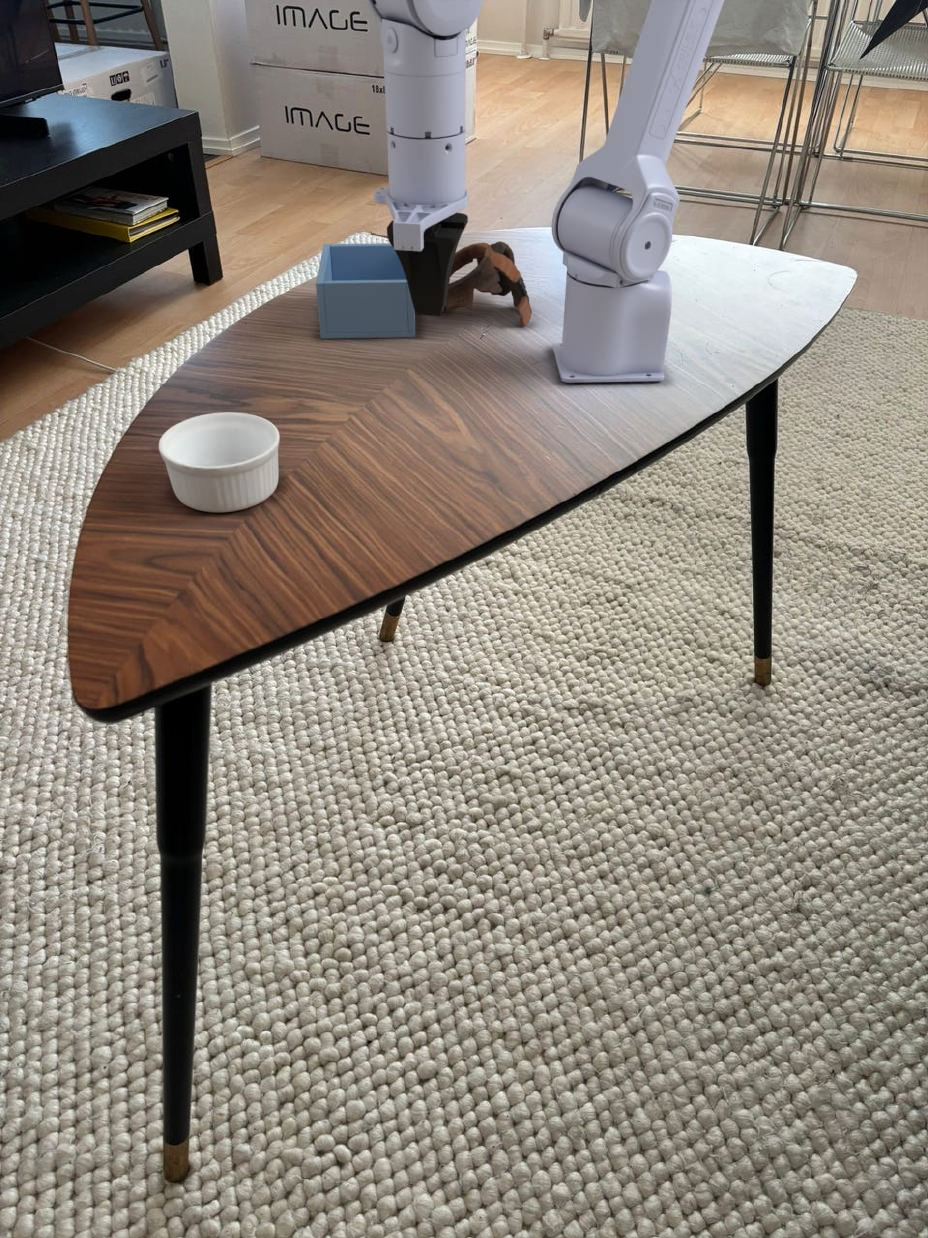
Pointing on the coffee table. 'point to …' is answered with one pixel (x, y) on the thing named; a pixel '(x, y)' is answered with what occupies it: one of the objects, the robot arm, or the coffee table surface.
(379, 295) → the bin
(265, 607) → the coffee table surface
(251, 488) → the ramekin
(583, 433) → the coffee table surface
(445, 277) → the robot arm
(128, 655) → the coffee table surface
